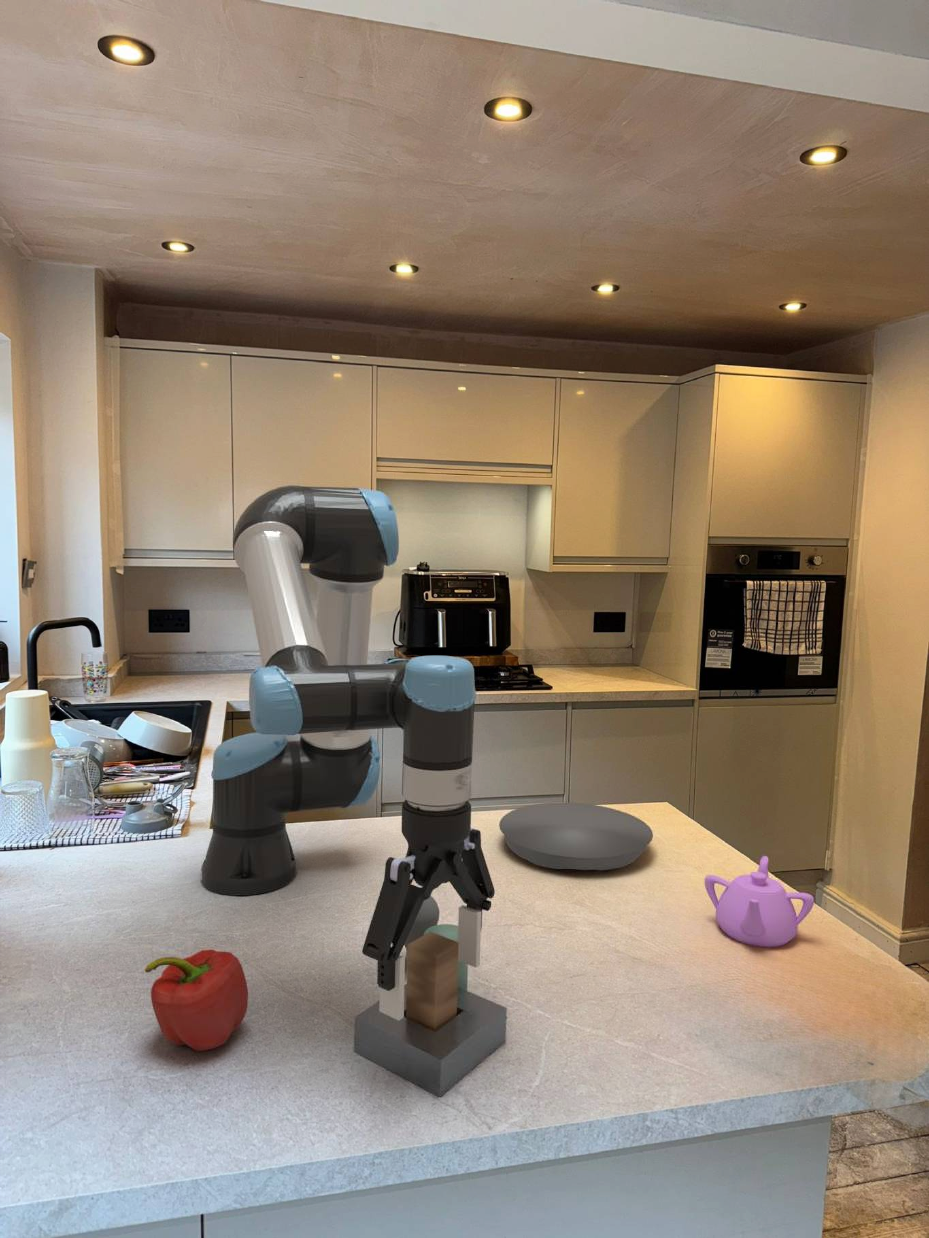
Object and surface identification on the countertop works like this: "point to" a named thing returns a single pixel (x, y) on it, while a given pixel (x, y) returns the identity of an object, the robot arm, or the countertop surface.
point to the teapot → (757, 908)
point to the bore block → (432, 1042)
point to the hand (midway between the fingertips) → (432, 987)
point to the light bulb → (423, 920)
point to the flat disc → (575, 836)
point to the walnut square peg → (432, 980)
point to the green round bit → (452, 934)
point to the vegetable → (199, 998)
